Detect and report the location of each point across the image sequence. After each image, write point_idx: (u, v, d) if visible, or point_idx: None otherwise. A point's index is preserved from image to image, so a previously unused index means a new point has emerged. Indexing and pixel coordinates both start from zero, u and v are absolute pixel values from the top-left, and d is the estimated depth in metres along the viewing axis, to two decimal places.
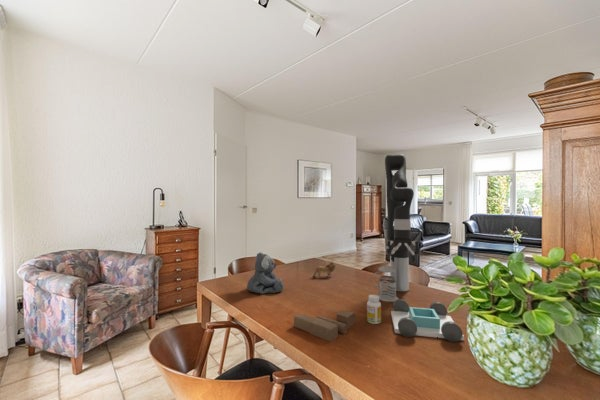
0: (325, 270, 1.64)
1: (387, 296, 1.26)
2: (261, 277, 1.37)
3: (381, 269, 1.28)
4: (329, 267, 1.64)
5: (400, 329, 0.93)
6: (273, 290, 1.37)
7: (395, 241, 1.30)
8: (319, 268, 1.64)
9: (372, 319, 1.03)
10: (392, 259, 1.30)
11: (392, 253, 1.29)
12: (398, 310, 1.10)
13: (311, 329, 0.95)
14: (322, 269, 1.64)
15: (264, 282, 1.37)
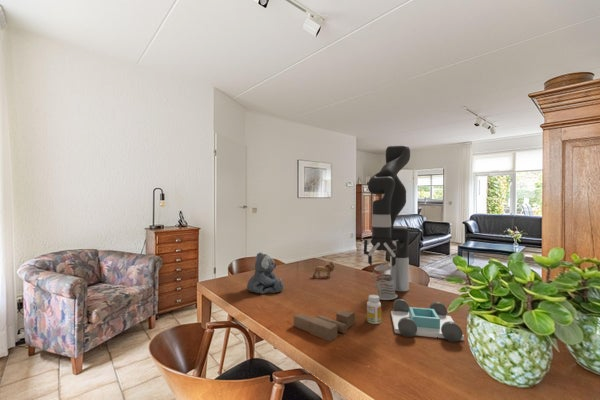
0: (325, 270, 1.64)
1: (387, 295, 1.26)
2: (261, 277, 1.37)
3: (377, 268, 1.29)
4: (329, 267, 1.64)
5: (400, 329, 0.93)
6: (273, 290, 1.37)
7: (373, 240, 1.09)
8: (318, 268, 1.64)
9: (372, 319, 1.03)
10: (369, 262, 1.10)
11: (369, 255, 1.09)
12: (398, 310, 1.10)
13: (311, 329, 0.96)
14: (322, 269, 1.64)
15: (264, 282, 1.37)
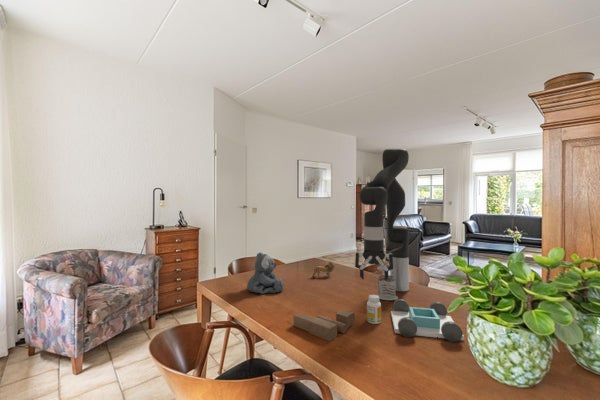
0: (324, 270, 1.64)
1: (388, 295, 1.26)
2: (261, 277, 1.37)
3: (380, 268, 1.29)
4: (328, 267, 1.64)
5: (400, 329, 0.93)
6: (273, 290, 1.37)
7: (365, 254, 1.05)
8: (318, 268, 1.64)
9: (372, 319, 1.03)
10: (361, 276, 1.05)
11: (361, 268, 1.05)
12: (398, 310, 1.10)
13: (310, 328, 0.96)
14: (321, 269, 1.64)
15: (264, 282, 1.37)
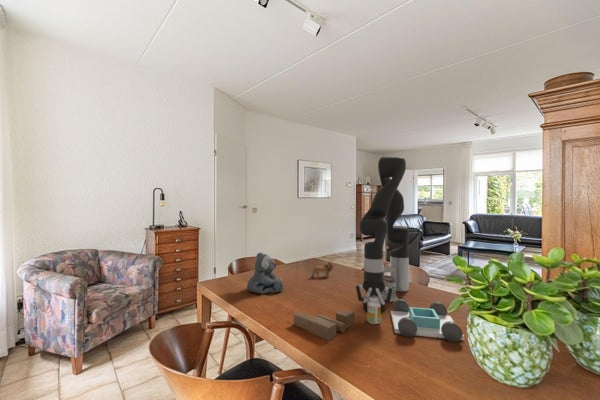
0: (323, 270, 1.64)
1: None
2: (261, 277, 1.37)
3: None
4: (327, 267, 1.64)
5: (400, 329, 0.93)
6: (273, 290, 1.37)
7: (364, 285, 1.05)
8: (317, 268, 1.64)
9: (372, 319, 1.03)
10: (364, 309, 1.05)
11: (364, 302, 1.05)
12: (398, 310, 1.10)
13: (310, 327, 0.97)
14: (320, 269, 1.64)
15: (264, 282, 1.37)
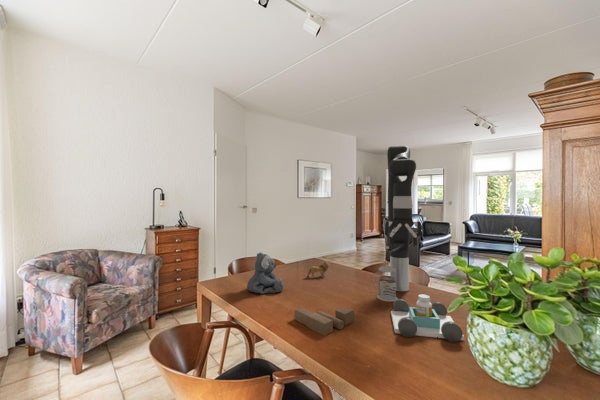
0: (319, 270, 1.64)
1: (389, 296, 1.26)
2: (261, 277, 1.37)
3: (382, 269, 1.28)
4: (323, 267, 1.64)
5: (400, 329, 0.93)
6: (273, 290, 1.37)
7: (394, 222, 1.12)
8: (313, 268, 1.64)
9: None
10: (391, 243, 1.12)
11: (391, 236, 1.12)
12: (398, 310, 1.10)
13: (308, 322, 1.00)
14: (316, 269, 1.64)
15: (264, 282, 1.37)
